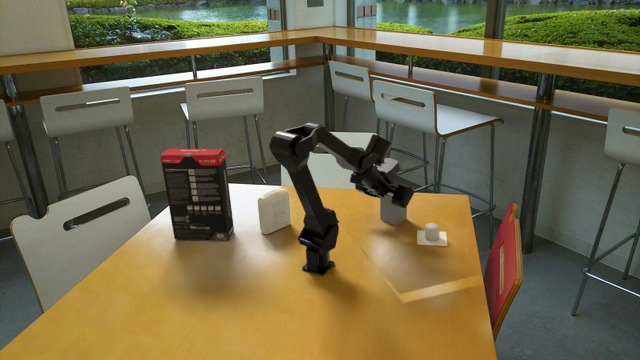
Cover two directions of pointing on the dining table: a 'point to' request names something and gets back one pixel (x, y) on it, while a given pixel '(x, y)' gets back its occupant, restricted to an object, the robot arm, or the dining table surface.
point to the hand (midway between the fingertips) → (396, 201)
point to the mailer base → (424, 242)
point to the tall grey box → (391, 211)
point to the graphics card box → (198, 193)
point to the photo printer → (274, 210)
